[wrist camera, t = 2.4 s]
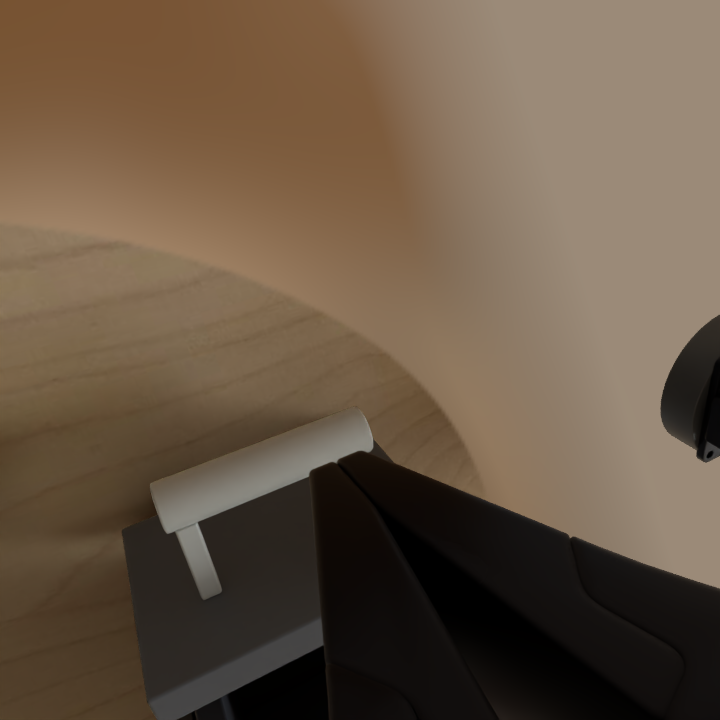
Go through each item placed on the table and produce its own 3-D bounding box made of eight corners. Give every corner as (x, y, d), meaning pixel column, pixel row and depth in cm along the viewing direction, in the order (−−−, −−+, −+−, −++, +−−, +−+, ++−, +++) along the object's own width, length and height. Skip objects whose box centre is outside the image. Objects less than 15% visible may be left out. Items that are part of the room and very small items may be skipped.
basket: (74, 429, 18) (84, 589, 12) (352, 335, 21) (459, 431, 15) (208, 717, 26) (250, 895, 20) (397, 620, 29) (479, 752, 23)
